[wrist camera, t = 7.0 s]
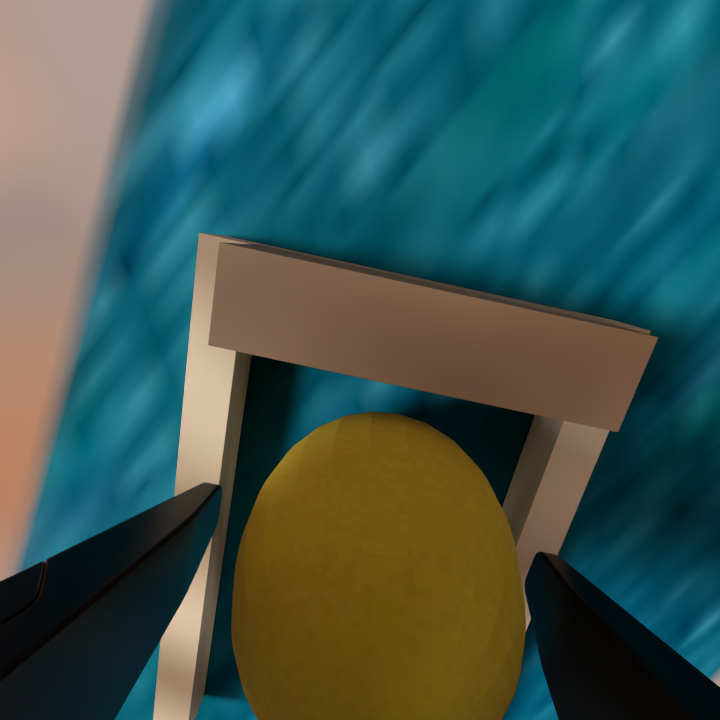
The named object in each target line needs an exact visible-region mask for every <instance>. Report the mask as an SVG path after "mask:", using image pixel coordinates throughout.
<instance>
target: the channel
mask: <svg viewBox="0 0 720 720" xmlns="http://www.w3.org/2000/svg"><path fill="white" fill-rule="evenodd" d="M650 332H651V331H650V330H646V329H643V328H639V327H636V326H633V325H629V324H626V323H622V322H619V321H615V320H611V319H606V318H601V317H597V316H592V315H588V314H583V313H578V312H574V311H569V310H565V309H560V308H555V307H551V306H546V305H542V304H537V303H532V302H528V301H523V300H519V299H514V298H509V297H505V296H500V295H496V294H491V293H486V292H482V291H477V290H473V289H468V288H463V287H459V286H454V285H450V284H445V283H440V282H436V281H431V280H426V279H422V278H417V277H413V276H408V275H403V274H399V273H394V272H390V271H385V270H380V269H376V268H371V267H367V266H362V265H357V264H353V263H348V262H344V261H339V260H334V259H330V258H325V257H321V256H316V255H311V254H307V253H302V252H298V251H293V250H288V249H284V248H279V247H275V246H270V245H265V244H261V243H256V242H251V241H247V240H242V239H238V238H233V237H228V236H224V235H215V234H206V233H199V240H198V251H197V261H196V272H195V283H194V293H193V304H192V314H191V325H190V335H189V346H188V357H187V367H186V378H185V388H184V399H183V410H182V420H181V431H180V441H179V452H178V462H177V473H176V484H175V494H174V496H176V495H179V494H181V493H183V492H185V491H187V490H189V489H191V488H193V487H195V486H197V485H199V484H201V483H204V482H208V483H212V484H217V485H221V486H222V489H223V492H222V500H221V508H220V515H219V520H218V524H217V527H216V529H215V531H214V534H213V536H212V538H211V540H210V543H209V545H208V547H207V549H206V552H205V554H204V556H203V558H202V561H201V563H200V565H199V567H198V570H197V572H196V574H195V576H194V579H193V581H192V583H191V585H190V587H189V590H188V592H187V594H186V596H185V597H184V599H183V601H182V603H181V605H180V607H179V608H178V610H177V612H176V614H175V615H174V617H173V619H172V620H171V622H170V624H169V626H168V627H167V629H166V631H165V633H164V634H163V636H162V638H161V642H160V653H159V663H158V674H157V684H156V695H155V706H154V716H153V720H195V717H196V715H197V712H198V710H199V707H200V705H201V702H202V699H203V697H204V691H205V684H206V677H207V670H208V662H209V655H210V648H211V641H212V634H213V627H214V620H215V612H216V605H217V598H218V591H219V584H220V577H221V570H222V562H223V555H224V548H225V541H226V534H227V527H228V520H229V512H230V505H231V498H232V491H233V484H234V477H235V470H236V462H237V455H238V448H239V441H240V434H241V427H242V420H243V412H244V405H245V398H246V391H247V384H248V377H249V370H250V362H251V355H256V356H261V357H265V358H270V359H275V360H280V361H284V362H289V363H294V364H298V365H303V366H308V367H313V368H317V369H322V370H327V371H331V372H336V373H341V374H346V375H350V376H355V377H360V378H364V379H369V380H374V381H379V382H383V383H388V384H393V385H398V386H402V387H407V388H412V389H416V390H421V391H426V392H431V393H435V394H440V395H445V396H449V397H454V398H459V399H464V400H468V401H473V402H478V403H482V404H487V405H492V406H497V407H501V408H506V409H511V410H515V411H520V412H525V413H530V414H534V415H535V416H534V419H533V422H532V425H531V427H530V430H529V433H528V436H527V439H526V441H525V444H524V447H523V450H522V453H521V456H520V458H519V461H518V464H517V467H516V470H515V472H514V475H513V478H512V481H511V484H510V486H509V489H508V492H507V495H506V498H505V500H504V503H503V506H502V509H503V511H504V513H505V515H506V518H507V520H508V523H509V525H510V528H511V531H512V535H513V539H514V542H515V547H516V552H517V557H518V563H519V569H520V575H521V580H522V586H523V593H524V602H525V616H526V630H527V627H528V625H529V622H530V620H531V617H530V613H529V608H528V604H527V599H526V595H525V588H524V585H525V579H526V576H527V574H528V571H529V569H530V566H531V564H532V561H533V559H534V556H535V554H536V553H538V552H540V551H541V552H546V553H551V554H555V555H558V553H559V551H560V548H561V546H562V543H563V541H564V539H565V536H566V534H567V531H568V529H569V527H570V524H571V522H572V519H573V517H574V515H575V512H576V510H577V507H578V505H579V503H580V500H581V498H582V495H583V493H584V491H585V488H586V486H587V483H588V481H589V479H590V476H591V474H592V471H593V469H594V467H595V464H596V462H597V459H598V457H599V455H600V452H601V450H602V447H603V445H604V443H605V440H606V438H607V435H608V433H609V431H614V432H618V431H619V429H620V427H621V424H622V422H623V419H624V417H625V415H626V412H627V410H628V408H629V405H630V403H631V401H632V398H633V396H634V394H635V391H636V389H637V386H638V384H639V382H640V379H641V377H642V375H643V372H644V370H645V368H646V365H647V363H648V361H649V358H650V356H651V353H652V351H653V349H654V346H655V344H656V342H657V339H658V337H655V336H652V335H650ZM525 632H526V631H525Z"/></svg>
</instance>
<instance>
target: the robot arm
mask: <svg viewBox="0 0 720 720" xmlns="http://www.w3.org/2000/svg"><path fill="white" fill-rule="evenodd" d="M222 492H223V489H222V486H221V485H217V484H212V483H208V482H204V483H201V484H199V485H197V486H195V487H193V488H191V489H189V490H187V491H185V492H183V493H181V494H179V495H176V496H174V497H172V498H170V499H168V500H166V501H164V502H162V503H160V504H158V505H156V506H154V507H152V508H150V509H148V510H146V511H144V512H142V513H140V514H138V515H136V516H134V517H132V518H130V519H128V520H126V521H123V522H121V523H119V524H117V525H115V526H113V527H111V528H109V529H107V530H105V531H103V532H101V533H99V534H97V535H95V536H93V537H91V538H89V539H87V540H85V541H83V542H81V543H79V544H77V545H75V546H73V547H71V548H68V549H66V550H64V551H62V552H60V553H58V554H56V555H54V556H52V557H50V558H48V559H47V560H46V562H40V563H38V564H36V565H34V566H31V567H29V568H27V569H25V570H23V571H21V572H19V573H17V574H15V575H13V576H11V577H9V578H7V579H4V580H2V581H0V720H114V719H115V718H116V716H117V714H118V712H119V711H120V709H121V707H122V705H123V704H124V702H125V700H126V699H127V697H128V695H129V693H130V692H131V690H132V688H133V686H134V685H135V683H136V681H137V679H138V678H139V676H140V674H141V673H142V671H143V669H144V667H145V666H146V664H147V662H148V660H149V659H150V657H151V655H152V653H153V652H154V650H155V648H156V647H157V645H158V643H159V641H160V640H161V638H162V636H163V634H164V633H165V631H166V629H167V627H168V626H169V624H170V622H171V620H172V619H173V617H174V615H175V614H176V612H177V610H178V608H179V607H180V605H181V603H182V601H183V599H184V597H185V596H186V594H187V592H188V590H189V587H190V585H191V583H192V581H193V579H194V576H195V574H196V572H197V570H198V567H199V565H200V563H201V561H202V558H203V556H204V554H205V552H206V549H207V547H208V545H209V543H210V540H211V538H212V536H213V534H214V531H215V529H216V527H217V524H218V520H219V515H220V508H221V500H222ZM524 588H525V595H526V599H527V604H528V608H529V613H530V617H531V622H532V626H533V631H534V635H535V639H536V644H537V648H538V653H539V657H540V661H541V665H542V668H543V671H544V675H545V678H546V681H547V684H548V688H549V691H550V694H551V697H552V700H553V703H554V706H555V709H556V712H557V716H558V719H559V720H720V687H719V686H717V685H716V684H715V683H714V682H713V681H711V680H710V679H709V678H708V677H706V676H705V675H704V674H703V673H702V672H700V671H699V670H698V669H697V668H695V667H694V666H693V665H692V664H690V663H689V662H688V661H687V660H686V659H684V658H683V657H682V656H681V655H679V654H678V653H677V652H676V651H675V650H673V649H672V648H671V647H670V646H668V645H667V644H666V643H665V642H663V641H662V640H661V639H660V638H659V637H657V636H656V635H655V634H654V633H652V632H651V631H650V630H649V629H648V628H646V627H645V626H644V625H643V624H641V623H640V622H639V621H638V620H636V619H635V618H634V617H633V616H632V615H630V614H629V613H628V612H627V611H625V610H624V609H623V608H622V607H621V606H619V605H618V604H617V603H616V602H614V601H613V600H612V599H611V598H609V597H608V596H607V595H606V594H605V593H603V592H602V591H601V590H600V589H598V588H597V587H596V586H595V585H594V584H592V583H591V582H590V581H589V580H587V579H586V578H585V577H584V576H582V575H581V574H580V573H579V572H578V571H576V570H575V569H574V568H573V567H571V566H570V565H569V564H568V563H567V562H565V561H564V560H563V559H562V558H560V557H559V556H558V555H555V554H551V553H546V552H541V551H540V552H538V553H536V554H535V556H534V559H533V561H532V564H531V566H530V569H529V571H528V574H527V576H526V579H525V585H524Z"/></svg>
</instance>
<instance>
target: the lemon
mask: <svg viewBox="0 0 720 720" xmlns="http://www.w3.org/2000/svg"><path fill="white" fill-rule="evenodd" d="M525 631H526V616H525V602H524V593H523V586H522V580H521V575H520V569H519V563H518V557H517V552H516V547H515V542H514V539H513V535H512V531H511V528H510V525H509V523H508V520H507V518H506V515H505V513H504V511H503V509H502V507H501V505H500V503H499V501H498V499H497V497H496V495H495V493H494V491H493V490H492V488H491V486H490V484H489V482H488V480H487V478H486V477H485V475H484V474H483V472H482V471H481V469H480V468H479V467H478V466H477V465H476V464H475V463H474V462H473V461H472V460H471V459H470V457H469V456H468V455H467V454H466V453H465V452H464V451H463V450H462V449H461V448H460V447H459V446H458V445H457V444H456V443H455V442H454V441H453V440H452V439H450V438H449V437H447V436H446V435H444V434H443V433H441V432H440V431H438V430H436V429H435V428H433V427H432V426H430V425H428V424H427V423H424V422H421V421H418V420H415V419H413V418H410V417H407V416H404V415H401V414H395V413H383V412H367V413H361V414H354V415H347V416H344V417H342V418H339V419H337V420H334V421H332V422H329V423H327V424H324V425H322V426H320V427H318V428H317V429H315V430H314V431H313V432H311V433H310V434H309V435H307V436H306V437H305V438H303V439H302V440H301V441H300V442H298V443H297V444H296V445H294V446H293V447H292V448H291V449H290V450H289V451H288V452H287V454H286V455H285V456H284V458H283V459H282V460H281V461H280V463H279V464H278V465H277V467H276V468H275V469H274V470H273V472H272V473H271V474H270V476H269V477H268V479H267V480H266V481H265V483H264V485H263V486H262V488H261V490H260V492H259V494H258V497H257V499H256V502H255V504H254V507H253V509H252V512H251V514H250V517H249V519H248V522H247V524H246V527H245V529H244V532H243V536H242V539H241V542H240V546H239V550H238V555H237V560H236V566H235V574H234V585H233V601H232V617H231V634H232V647H233V651H234V655H235V659H236V664H237V668H238V672H239V676H240V679H241V683H242V687H243V691H244V694H245V696H246V698H247V700H248V702H249V704H250V706H251V709H252V711H253V712H254V714H255V716H256V717H257V719H258V720H502V719H503V717H504V715H505V713H506V711H507V709H508V707H509V705H510V703H511V701H512V699H513V697H514V695H515V692H516V688H517V684H518V681H519V677H520V672H521V665H522V658H523V651H524V643H525Z"/></svg>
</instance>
